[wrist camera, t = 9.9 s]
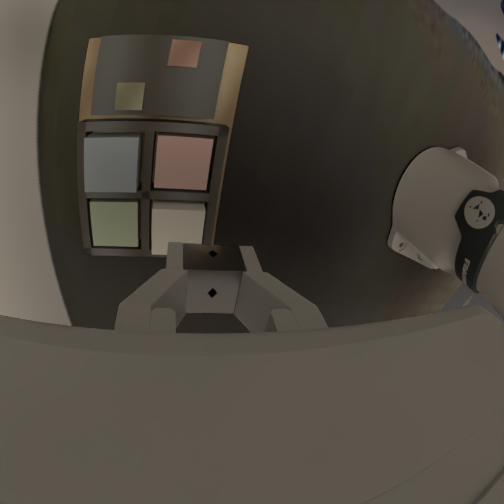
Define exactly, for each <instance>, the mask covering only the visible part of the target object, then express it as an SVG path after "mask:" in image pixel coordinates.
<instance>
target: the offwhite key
mask: <svg viewBox="0 0 504 504" xmlns="http://www.w3.org/2000/svg"><path fill="white" fill-rule="evenodd" d="M205 212H206V211H205V206H204V202H203V201H184V200H161V199H154V201H153V207H152V255H167V250H168V243H169V242H182V243H196V244H202V236H203V228H204V220H205Z"/></svg>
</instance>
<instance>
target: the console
mask: <svg viewBox="0 0 504 504" xmlns="http://www.w3.org/2000/svg"><path fill="white" fill-rule="evenodd" d="M248 47H249V46H244V45H239V44H233V43H229V41H222V40H215V39H208V38H199V37H188V36H175V35H113V36H102V37H101V38H92V39H90V40H89V45H88V50H87V56H86V62H85V68H84V75H83V82H82V91H81V101H80V114H79V122H78V123H77V184H78V200H79V212H80V222H81V231H82V238H83V246H84V252H85V255H103V256H140V257H167V255H152V207H153V201H154V199H161V200H184V201H203V202H204V206H205V211H206V212H205V220H204V228H203V236H202V244H210V245H213V244H214V237H215V230H216V223H217V216H218V209H219V203H220V196H221V190H222V184H223V177H224V171H225V165H226V159H227V154H228V148H229V142H230V137H231V131H232V126H233V120H234V115H235V110H236V105H237V99H238V94H239V89H240V84H241V80H242V75H243V70H244V65H245V61H246V56H247V52H248ZM159 132H176V133H191V134H203V135H211V136H212V138H213V139H214V140H213V147H212V153H211V160H210V166H209V173H208V180H207V188H206V190H193V189H173V188H154V178H155V164H156V152H157V142H158V135H159ZM92 133H142V145H141V159H140V178H139V186H138V189H137V191H136V193H132V192H85V185H84V138H85V137H87V136H89V135H90V134H92ZM92 198H125V199H140V239H139V245H138V247H125V246H94V244H93V235H92V226H91V214H90V200H91V199H92Z"/></svg>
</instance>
